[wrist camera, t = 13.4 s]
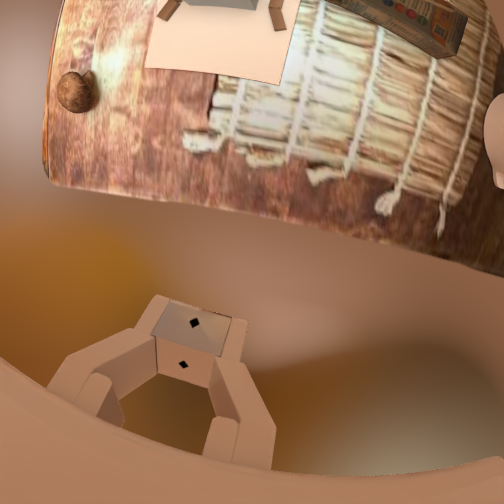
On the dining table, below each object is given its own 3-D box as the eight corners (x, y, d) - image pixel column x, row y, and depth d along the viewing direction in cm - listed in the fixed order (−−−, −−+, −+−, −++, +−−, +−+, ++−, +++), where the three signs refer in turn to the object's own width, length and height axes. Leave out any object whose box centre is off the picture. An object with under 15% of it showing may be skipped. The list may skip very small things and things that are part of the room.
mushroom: (87, 52, 29) (56, 76, 27) (115, 87, 35) (87, 112, 33) (71, 72, 34) (45, 94, 32) (96, 102, 40) (72, 125, 37)
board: (310, -36, 22) (310, -38, 22) (279, 85, 33) (278, 85, 32) (178, -45, 23) (175, -47, 22) (147, 67, 33) (144, 67, 32)
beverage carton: (332, -40, 22) (337, -59, 16) (451, 24, 23) (473, 17, 17) (314, -2, 26) (317, -19, 20) (438, 62, 27) (460, 59, 21)
